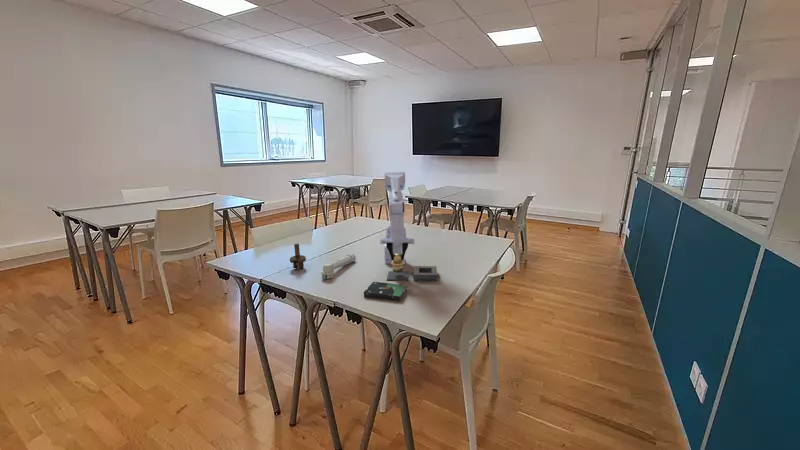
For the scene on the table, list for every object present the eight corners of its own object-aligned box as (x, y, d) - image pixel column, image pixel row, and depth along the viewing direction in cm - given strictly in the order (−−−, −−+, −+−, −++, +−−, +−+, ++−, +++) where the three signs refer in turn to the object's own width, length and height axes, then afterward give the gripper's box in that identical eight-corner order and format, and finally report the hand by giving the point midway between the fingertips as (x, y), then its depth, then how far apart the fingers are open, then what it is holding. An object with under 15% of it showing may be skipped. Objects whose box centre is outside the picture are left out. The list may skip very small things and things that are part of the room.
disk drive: (363, 298, 124) (400, 303, 120) (363, 292, 123) (400, 296, 119) (373, 287, 134) (407, 291, 130) (372, 281, 133) (407, 284, 129)
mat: (386, 280, 139) (386, 279, 139) (388, 272, 147) (388, 271, 147) (407, 280, 138) (407, 279, 138) (408, 272, 147) (408, 271, 147)
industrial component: (301, 271, 150) (299, 247, 147) (287, 270, 151) (284, 246, 148) (310, 264, 159) (308, 241, 156) (297, 263, 160) (295, 240, 157)
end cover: (390, 273, 140) (389, 256, 138) (392, 267, 145) (391, 252, 144) (404, 273, 139) (403, 256, 137) (405, 268, 145) (405, 252, 143)
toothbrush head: (357, 254, 161) (328, 264, 138) (356, 267, 162) (328, 279, 139) (347, 253, 163) (318, 263, 140) (347, 265, 164) (318, 278, 141)
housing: (413, 281, 138) (413, 274, 137) (414, 272, 147) (414, 266, 146) (437, 281, 137) (437, 274, 136) (436, 272, 147) (436, 266, 146)
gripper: (379, 231, 134) (380, 262, 137) (414, 231, 133) (414, 262, 137) (381, 227, 141) (381, 257, 144) (414, 227, 140) (414, 257, 143)
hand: (397, 259), depth 141 cm, fingers closed on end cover, 4 cm apart
